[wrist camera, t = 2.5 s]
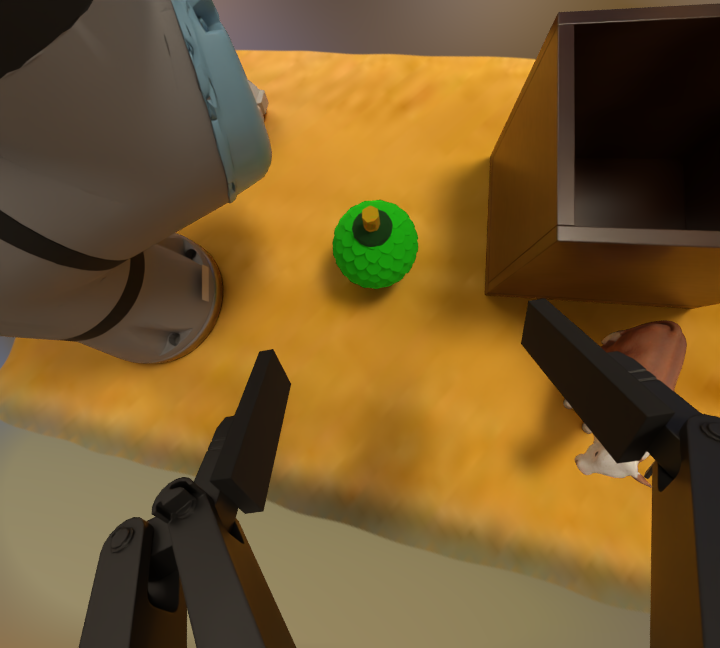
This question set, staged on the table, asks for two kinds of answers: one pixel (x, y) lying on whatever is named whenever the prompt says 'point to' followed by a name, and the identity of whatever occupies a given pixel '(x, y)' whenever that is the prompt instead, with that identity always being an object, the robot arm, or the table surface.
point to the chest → (613, 163)
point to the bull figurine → (660, 357)
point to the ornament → (375, 244)
